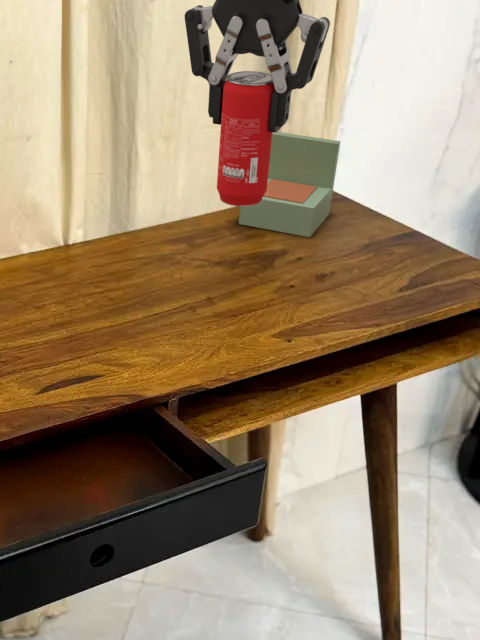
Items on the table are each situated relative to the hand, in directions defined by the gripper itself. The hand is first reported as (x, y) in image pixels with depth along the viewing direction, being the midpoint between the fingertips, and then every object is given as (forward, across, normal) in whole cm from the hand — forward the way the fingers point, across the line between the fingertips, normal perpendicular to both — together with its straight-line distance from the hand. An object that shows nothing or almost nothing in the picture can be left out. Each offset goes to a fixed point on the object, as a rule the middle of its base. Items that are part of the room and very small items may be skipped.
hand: (247, 125), depth 98 cm
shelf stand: (+22, -4, +31) cm, 38 cm away
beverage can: (+8, 0, 0) cm, 8 cm away
